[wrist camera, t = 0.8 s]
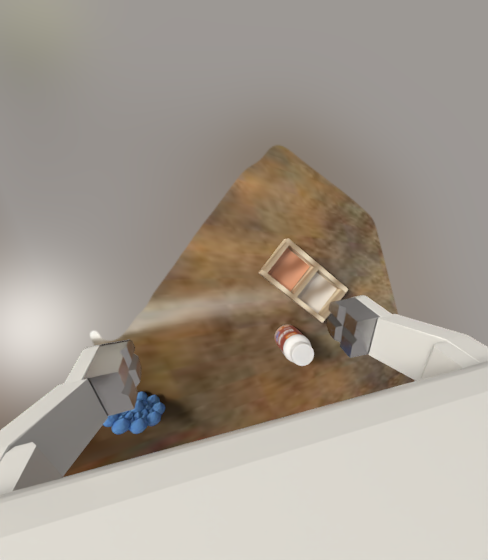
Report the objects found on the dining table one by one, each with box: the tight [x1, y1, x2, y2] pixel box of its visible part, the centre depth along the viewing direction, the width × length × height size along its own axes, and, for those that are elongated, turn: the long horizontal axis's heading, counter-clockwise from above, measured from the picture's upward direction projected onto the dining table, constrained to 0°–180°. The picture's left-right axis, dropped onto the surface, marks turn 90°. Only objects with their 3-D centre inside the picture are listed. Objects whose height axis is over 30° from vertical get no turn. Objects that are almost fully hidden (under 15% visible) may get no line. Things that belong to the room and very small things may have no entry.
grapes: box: [103, 392, 165, 435], centre depth 48 cm, size 12×7×12 cm, turn 73°
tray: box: [258, 239, 349, 323], centre depth 55 cm, size 19×10×4 cm, turn 52°
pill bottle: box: [275, 325, 314, 366], centre depth 52 cm, size 6×6×11 cm
